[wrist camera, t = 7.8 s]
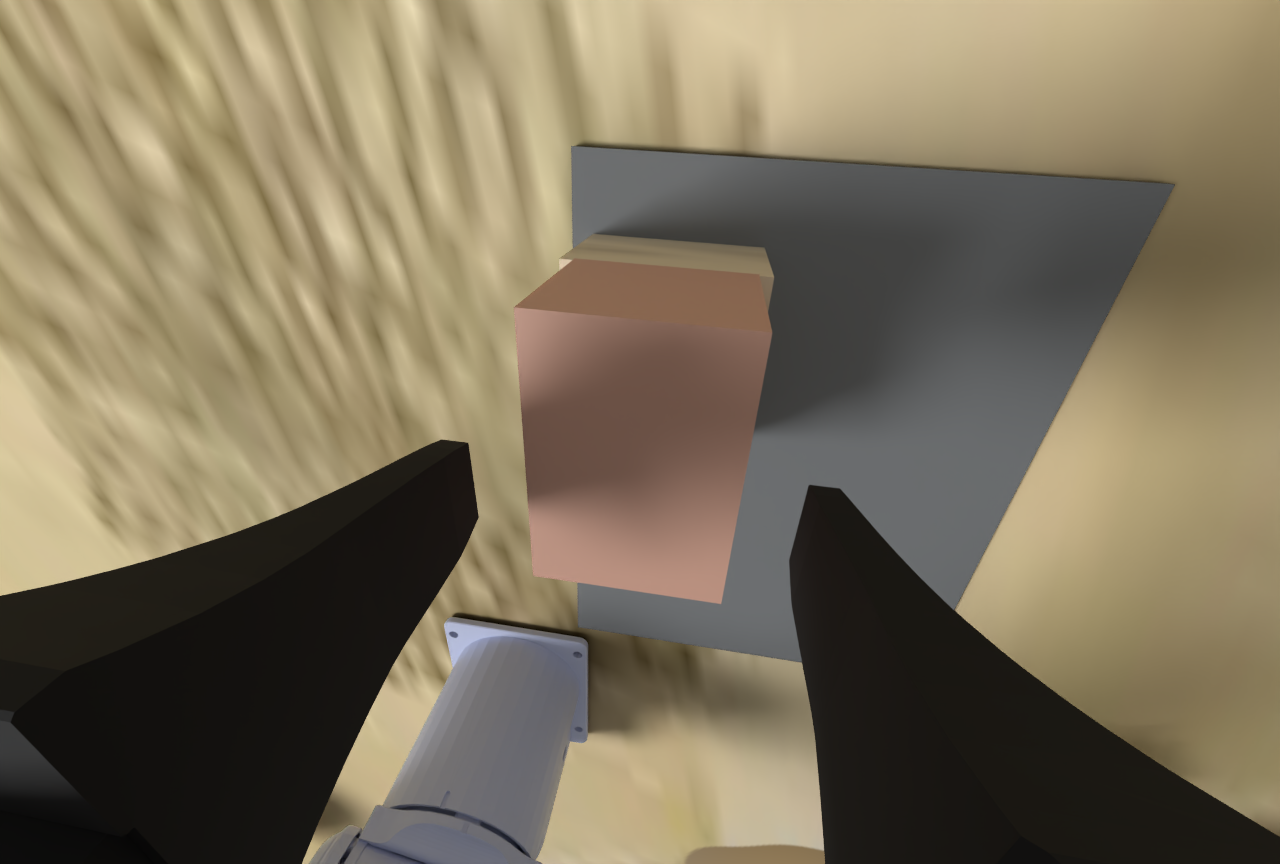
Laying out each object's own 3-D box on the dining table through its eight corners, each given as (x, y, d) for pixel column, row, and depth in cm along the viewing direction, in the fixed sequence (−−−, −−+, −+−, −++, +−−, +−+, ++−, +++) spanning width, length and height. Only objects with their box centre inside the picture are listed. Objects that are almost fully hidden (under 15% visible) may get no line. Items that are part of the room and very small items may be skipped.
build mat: (914, 673, 26) (917, 680, 25) (580, 620, 27) (578, 626, 27) (1164, 182, 15) (1175, 184, 14) (574, 145, 16) (571, 146, 16)
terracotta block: (722, 495, 17) (721, 604, 13) (577, 476, 17) (533, 575, 13) (759, 274, 13) (772, 332, 9) (574, 258, 14) (513, 307, 10)
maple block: (733, 435, 20) (734, 497, 17) (592, 419, 21) (565, 475, 17) (764, 247, 17) (774, 277, 13) (593, 233, 17) (558, 258, 14)
